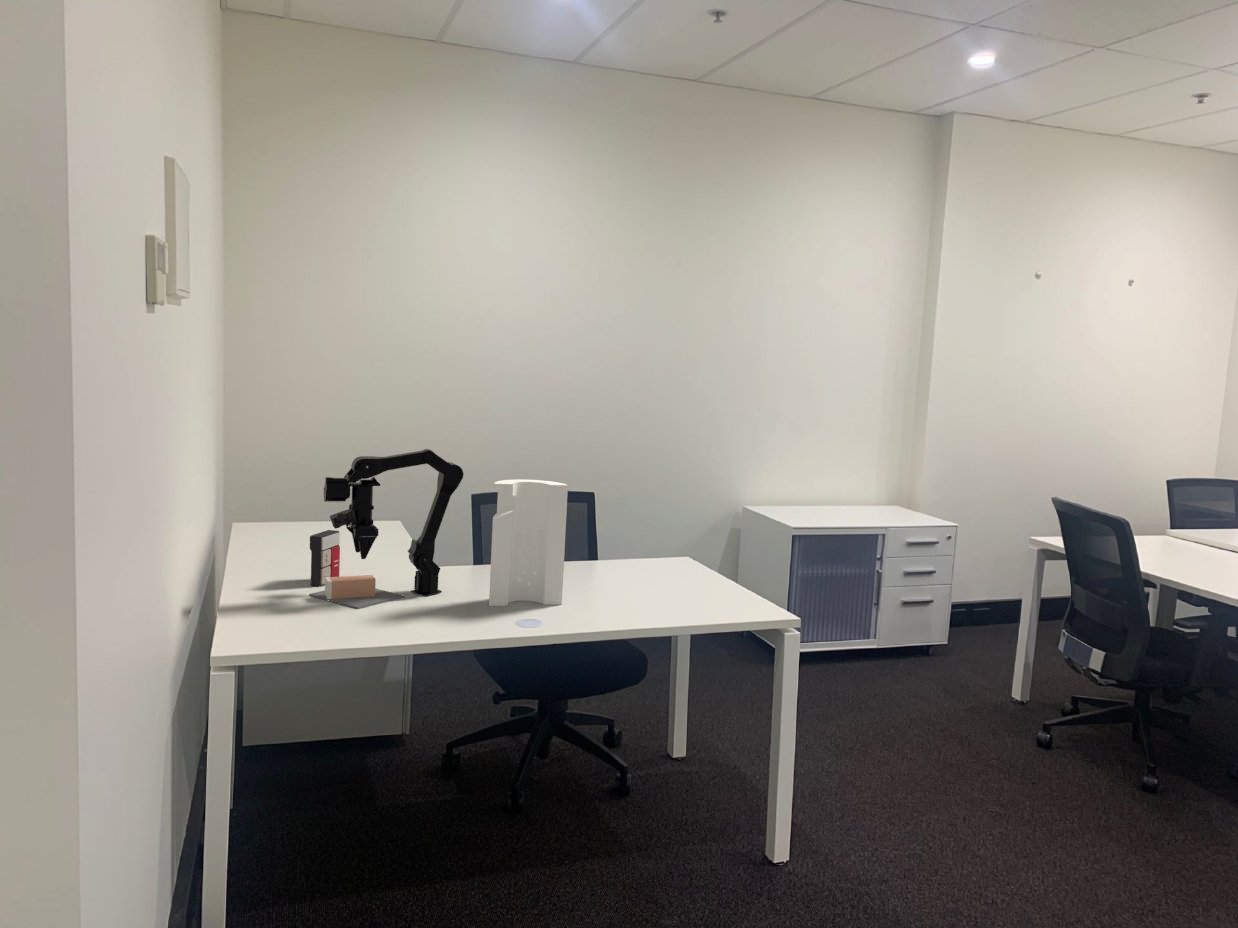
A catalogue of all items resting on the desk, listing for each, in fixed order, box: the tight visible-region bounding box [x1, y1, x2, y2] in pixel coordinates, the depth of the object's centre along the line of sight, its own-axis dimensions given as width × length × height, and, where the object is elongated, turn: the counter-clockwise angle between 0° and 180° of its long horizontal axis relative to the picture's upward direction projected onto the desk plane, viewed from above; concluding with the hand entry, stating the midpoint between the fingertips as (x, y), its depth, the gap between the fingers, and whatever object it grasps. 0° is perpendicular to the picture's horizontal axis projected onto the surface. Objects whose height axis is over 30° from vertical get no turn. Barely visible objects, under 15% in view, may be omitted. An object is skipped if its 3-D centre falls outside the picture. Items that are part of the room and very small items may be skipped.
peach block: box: [324, 574, 377, 599], centre depth 250 cm, size 5×5×13 cm
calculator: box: [309, 529, 341, 587], centre depth 265 cm, size 11×4×15 cm, turn 168°
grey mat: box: [308, 587, 405, 610], centre depth 252 cm, size 20×17×1 cm
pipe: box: [488, 478, 569, 607], centre depth 256 cm, size 35×11×21 cm
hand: (360, 555), depth 251 cm, fingers open, 9 cm apart
